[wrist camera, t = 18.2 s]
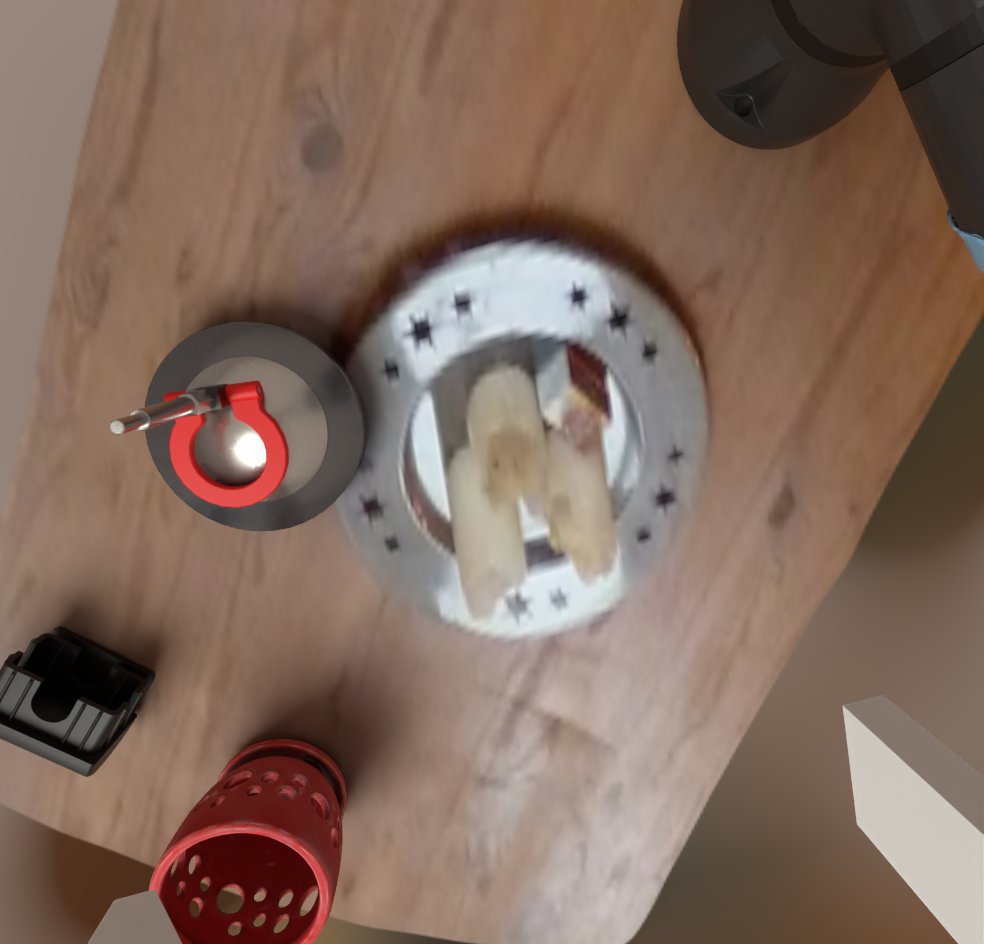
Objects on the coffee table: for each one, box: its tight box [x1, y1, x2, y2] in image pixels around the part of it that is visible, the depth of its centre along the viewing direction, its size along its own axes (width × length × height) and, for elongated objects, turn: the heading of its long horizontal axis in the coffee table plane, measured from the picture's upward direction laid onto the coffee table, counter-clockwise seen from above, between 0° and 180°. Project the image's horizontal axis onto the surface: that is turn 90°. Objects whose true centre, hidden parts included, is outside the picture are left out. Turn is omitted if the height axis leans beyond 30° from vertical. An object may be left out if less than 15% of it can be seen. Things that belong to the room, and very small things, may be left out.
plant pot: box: [149, 739, 347, 944], centre depth 46 cm, size 13×13×12 cm
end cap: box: [0, 627, 155, 777], centre depth 45 cm, size 10×7×7 cm
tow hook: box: [110, 381, 289, 508], centre depth 36 cm, size 8×13×9 cm
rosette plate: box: [145, 322, 366, 531], centre depth 43 cm, size 16×16×3 cm
